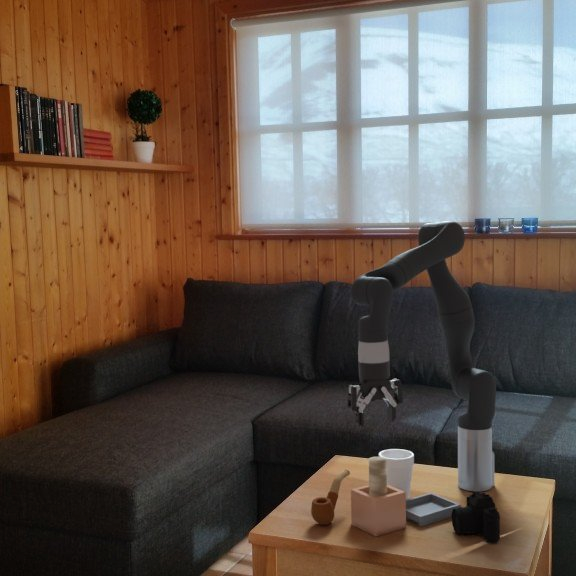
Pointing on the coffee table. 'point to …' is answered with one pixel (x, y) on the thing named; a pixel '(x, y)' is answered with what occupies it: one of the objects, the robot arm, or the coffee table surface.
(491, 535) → the film camera
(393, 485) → the foam cup
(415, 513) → the tray
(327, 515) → the smoking pipe
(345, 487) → the coffee table surface
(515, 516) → the coffee table surface
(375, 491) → the maple dowel
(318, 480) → the coffee table surface
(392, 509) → the deep box
